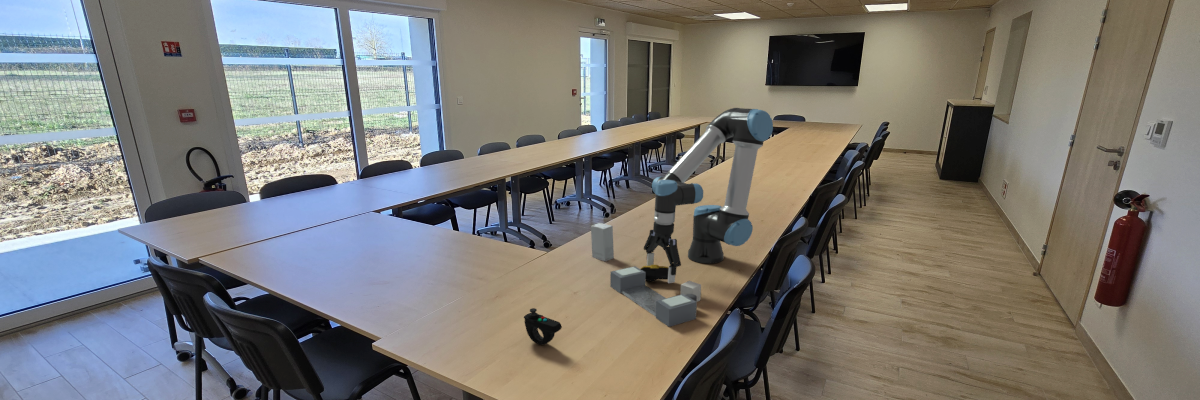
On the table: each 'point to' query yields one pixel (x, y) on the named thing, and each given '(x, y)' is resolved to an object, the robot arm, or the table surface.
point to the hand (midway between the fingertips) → (660, 275)
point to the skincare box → (602, 241)
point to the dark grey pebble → (692, 296)
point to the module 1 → (627, 278)
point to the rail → (643, 297)
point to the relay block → (691, 289)
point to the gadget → (655, 272)
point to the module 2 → (676, 310)
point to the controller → (540, 327)
